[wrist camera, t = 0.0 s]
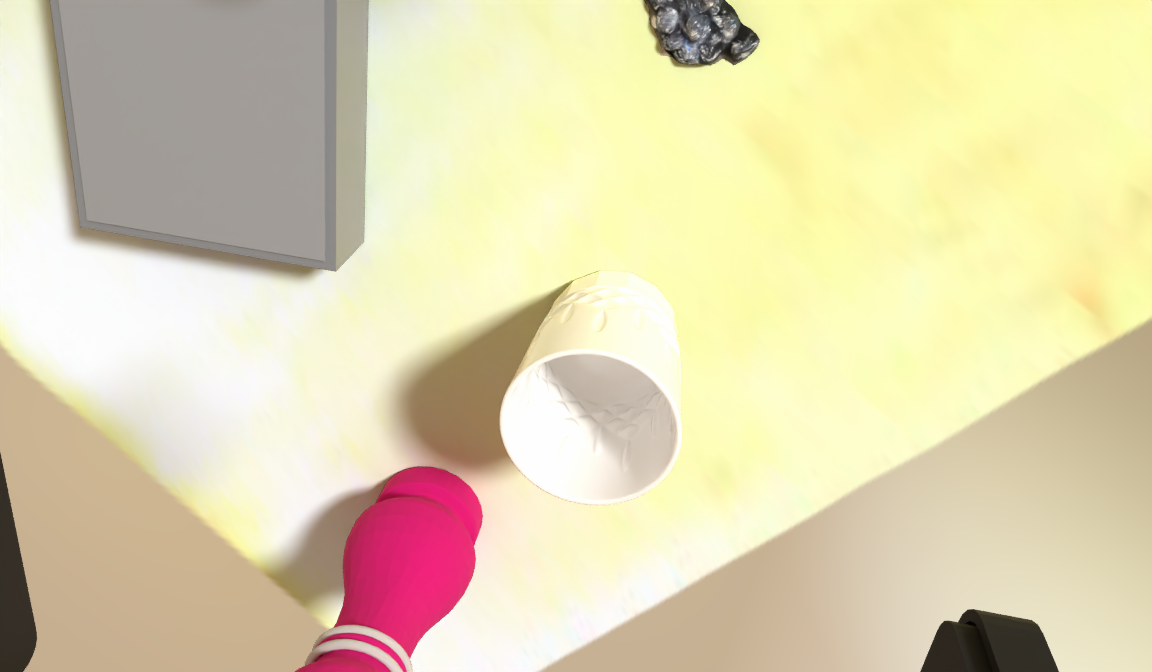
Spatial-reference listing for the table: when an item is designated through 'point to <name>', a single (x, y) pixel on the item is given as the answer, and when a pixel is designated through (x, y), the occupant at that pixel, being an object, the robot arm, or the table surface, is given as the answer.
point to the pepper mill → (401, 572)
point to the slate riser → (219, 122)
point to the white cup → (598, 393)
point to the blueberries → (701, 31)
